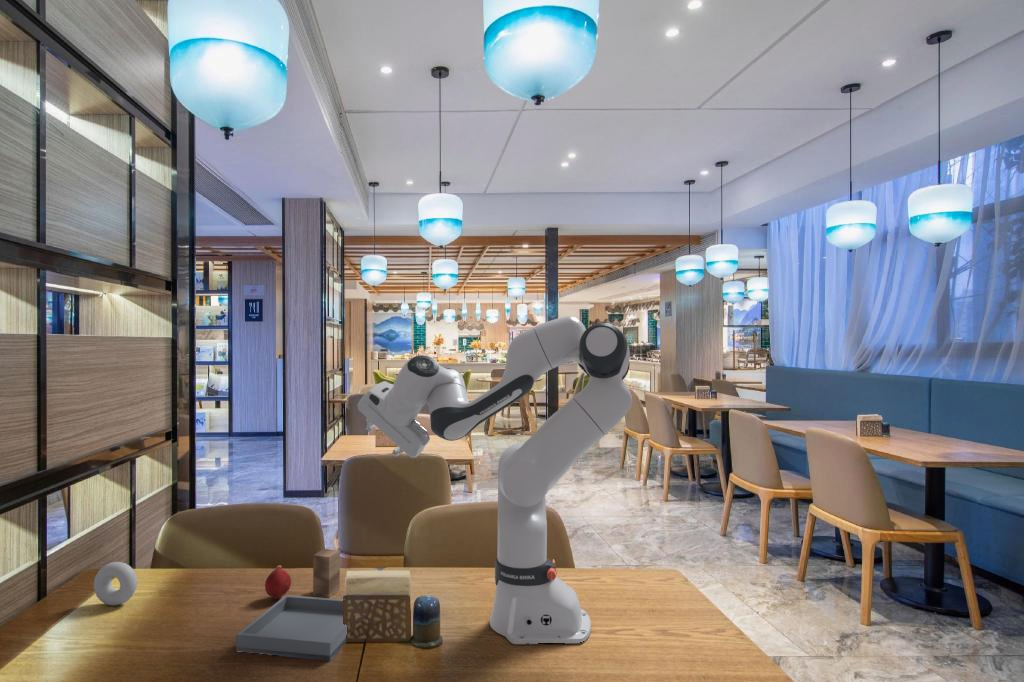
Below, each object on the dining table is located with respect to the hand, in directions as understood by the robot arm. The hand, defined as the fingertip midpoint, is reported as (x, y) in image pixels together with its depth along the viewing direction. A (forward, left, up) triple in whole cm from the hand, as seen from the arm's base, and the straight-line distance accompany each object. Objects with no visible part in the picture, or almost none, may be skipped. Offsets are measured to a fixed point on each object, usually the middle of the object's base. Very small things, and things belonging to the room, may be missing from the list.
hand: (382, 441), depth 143 cm
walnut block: (+12, +7, -37) cm, 39 cm away
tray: (+7, +26, -37) cm, 45 cm away
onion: (+22, +12, -37) cm, 45 cm away
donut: (+58, +21, -37) cm, 72 cm away
